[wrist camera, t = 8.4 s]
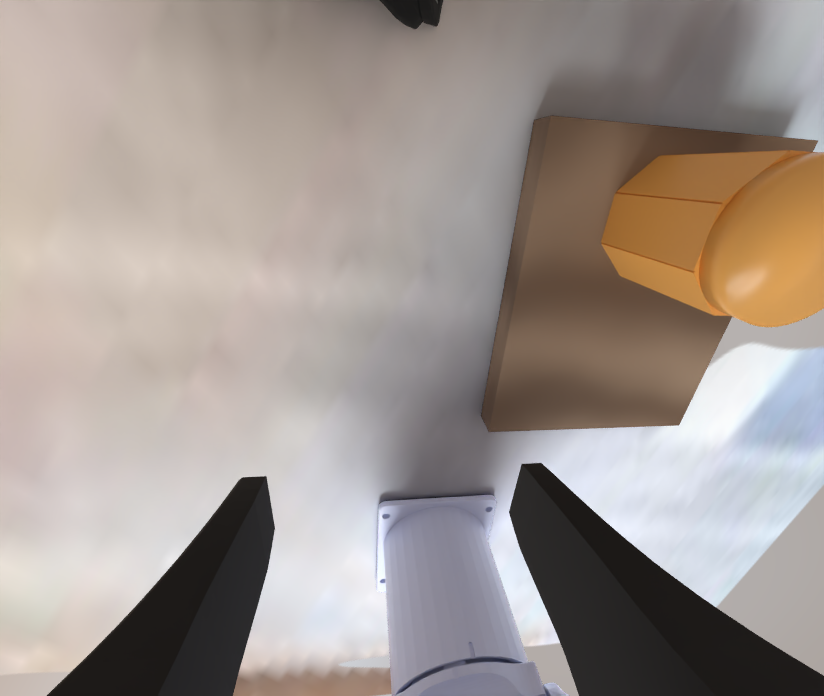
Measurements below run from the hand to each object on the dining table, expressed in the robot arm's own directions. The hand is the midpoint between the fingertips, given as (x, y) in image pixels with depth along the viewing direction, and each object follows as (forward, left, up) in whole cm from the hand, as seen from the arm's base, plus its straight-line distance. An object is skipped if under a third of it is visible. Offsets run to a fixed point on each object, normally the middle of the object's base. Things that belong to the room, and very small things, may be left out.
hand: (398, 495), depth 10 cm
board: (+3, -12, -9) cm, 16 cm away
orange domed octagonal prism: (+7, -12, -8) cm, 16 cm away
